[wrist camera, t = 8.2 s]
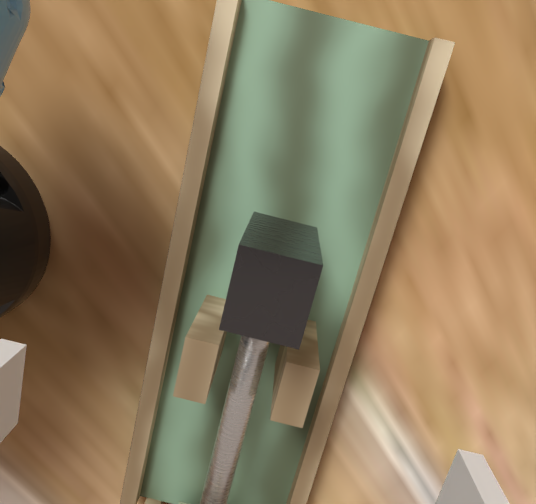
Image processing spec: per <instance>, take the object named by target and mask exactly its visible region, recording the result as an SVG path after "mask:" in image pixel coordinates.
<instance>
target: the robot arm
mask: <svg viewBox="0 0 536 504" xmlns="http://www.w3.org/2000/svg"><path fill="white" fill-rule="evenodd" d="M29 18H30V0H0V96H1V95H2V93H3V90H4V87H5V86H4V82H3V80H4V77H5V75H6V73H7V70H8V68H9V66H10V63H11V61H12V59H13V56H14V54H15V52H16V49H17V47H18V45H19V43H20V41H21V39H22V37H23V35H24V32H25V30H26V28H27V26H28V22H29ZM49 253H50V226H49V220H48V216H47V212H46V209H45V206H44V203H43V200H42V198H41V196H40V193H39V191H38V189H37V188H36V186H35V184H34V182H33V181H32V179H31V178H30V176H29V175H28V173H27V172H26V171H25V169H24V168H23V167H22V166H21V165H20V164H19V162H18V161H17V160H16V159H15V158H14V157H13V156H12V155H10V154H9V153H8V152H7V151H6V150H5V149H3V148H2V147H1V146H0V317H2V316H3V315H5V314H6V313H8V312H9V311H11V310H12V309H14V308H15V307H17V306H18V305H19V304H21V303H22V302H23V301H24V300H26V299H27V298H28V297H29V296H30V295H31V293H32V292H33V291H34V290H35V288H36V287H37V285H38V284H39V282H40V280H41V279H42V277H43V274H44V272H45V269H46V266H47V263H48V259H49ZM26 347H27V345H26V344H22V343H18V342H13V341H9V340H5V339H0V443H1V442H2V441H3V439H4V438H5V437H6V436H7V435H8V434H9V433H10V432H11V430H12V429H13V428H14V427H15V426H16V425H17V424H18V417H19V408H20V400H21V391H22V382H23V373H24V364H25V355H26ZM435 504H509V502H508V500H507V498H506V496H505V494H504V493H503V491H502V489H501V487H500V485H499V483H498V482H497V480H496V478H495V476H494V474H493V472H492V471H491V469H490V467H489V465H488V463H487V462H486V460H485V458H484V456H483V455H481V454H477V453H473V452H469V451H464V450H460V449H458V450H457V453H456V455H455V458H454V460H453V462H452V465H451V467H450V470H449V472H448V475H447V477H446V479H445V482H444V484H443V487H442V489H441V491H440V494H439V496H438V499H437V501H436V503H435Z"/></svg>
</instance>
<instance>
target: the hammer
mask: <svg viewBox="0 0 536 504" xmlns="http://www.w3.org/2000/svg"><path fill="white" fill-rule="evenodd" d="M322 268H323V261H322V254H321V248H320V242H319V236H318V230H317V227H314V226H310V225H306V224H302V223H298V222H294V221H290V220H286V219H282V218H278V217H274V216H270V215H266V214H262V213H258V212H253V214H252V217H251V219H250V221H249V223H248V225H247V227H246V230H245V232H244V234H243V236H242V238H241V241H240V243H239V245H238V250H237V254H236V258H235V263H234V267H233V271H232V275H231V280H230V284H229V288H228V293H227V297H226V301H225V305H224V310H223V314H222V318H221V323H220V327H219V330H222V331H226V332H230V333H234V334H238V335H241V339H240V343H239V347H238V351H237V355H236V359H235V363H234V367H233V371H232V375H231V379H230V383H229V387H228V391H227V395H226V399H225V403H224V407H223V411H222V416H221V420H220V424H219V428H218V432H217V436H216V440H215V444H214V448H213V452H212V456H211V460H210V464H209V468H208V472H207V476H206V480H205V484H204V488H203V492H202V496H201V500H200V504H227V501H228V497H229V493H230V489H231V486H232V482H233V478H234V474H235V471H236V467H237V463H238V459H239V456H240V452H241V448H242V444H243V441H244V437H245V433H246V430H247V426H248V422H249V418H250V415H251V411H252V407H253V403H254V400H255V396H256V392H257V388H258V385H259V381H260V377H261V373H262V370H263V366H264V362H265V358H266V355H267V351H268V347H269V343H274V344H278V345H282V346H286V347H290V348H294V349H298V350H299V348H300V345H301V342H302V338H303V335H304V331H305V328H306V324H307V321H308V317H309V314H310V310H311V307H312V303H313V300H314V296H315V293H316V289H317V286H318V282H319V279H320V275H321V272H322ZM179 504H189V503H185V502H181V501H179Z"/></svg>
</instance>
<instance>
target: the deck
mask: <svg viewBox="0 0 536 504" xmlns="http://www.w3.org/2000/svg"><path fill="white" fill-rule="evenodd" d="M454 44H455V42H451V41H447V40H443V39H439V38H433V39H431V40H430V41H427V40H423V39H420V38H416V37H412V36H408V35H404V34H400V33H396V32H392V31H388V30H384V29H380V28H376V27H372V26H368V25H364V24H360V23H356V22H352V21H349V20H345V19H341V18H337V17H333V16H329V15H325V14H321V13H317V12H313V11H309V10H305V9H301V8H297V7H293V6H289V5H285V4H282V3H278V2H274V1H270V0H217V2H216V7H215V13H214V18H213V23H212V28H211V33H210V38H209V44H208V49H207V54H206V59H205V64H204V70H203V75H202V80H201V85H200V90H199V96H198V101H197V106H196V111H195V116H194V121H193V127H192V132H191V137H190V142H189V147H188V153H187V158H186V163H185V168H184V173H183V178H182V184H181V189H180V194H179V199H178V204H177V210H176V215H175V220H174V225H173V230H172V236H171V241H170V246H169V251H168V256H167V261H166V267H165V272H164V277H163V282H162V287H161V293H160V298H159V303H158V308H157V313H156V318H155V324H154V329H153V334H152V339H151V344H150V350H149V355H148V360H147V365H146V370H145V376H144V381H143V386H142V391H141V396H140V401H139V407H138V412H137V417H136V422H135V427H134V433H133V438H132V443H131V448H130V453H129V458H128V464H127V469H126V474H125V479H124V484H123V490H122V495H121V500H120V504H137V501H138V499H139V496H143V497H147V499H146V501H145V504H163V502H167V503H171V504H179V501H181V502H185V503H189V504H200V500H201V496H202V492H203V488H204V484H205V480H206V476H207V472H208V468H209V464H210V460H211V456H212V452H213V448H214V444H215V440H216V436H217V432H218V428H219V424H220V420H221V416H222V411H223V407H224V403H225V399H226V395H227V391H228V387H229V383H230V379H231V375H232V371H233V367H234V363H235V359H236V355H237V351H238V347H239V343H240V339H241V335H238V334H234V333H230V332H226V331H222V330H219V327H220V323H221V318H222V314H223V310H224V305H225V301H226V297H227V293H228V288H229V284H230V280H231V275H232V271H233V267H234V263H235V258H236V254H237V250H238V245H239V243H240V241H241V238H242V236H243V234H244V232H245V230H246V227H247V225H248V223H249V221H250V219H251V217H252V214H253V212H258V213H262V214H266V215H270V216H274V217H278V218H282V219H286V220H290V221H294V222H298V223H302V224H306V225H310V226H314V227H317V230H318V236H319V242H320V248H321V254H322V261H323V268H322V272H321V275H320V279H319V282H318V286H317V289H316V293H315V296H314V300H313V303H312V307H311V310H310V314H309V317H308V321H307V324H306V328H305V331H304V335H303V338H302V342H301V345H300V348H299V350H298V349H294V348H290V347H286V346H282V345H278V344H274V343H269V347H268V351H267V355H266V358H265V362H264V366H263V370H262V373H261V377H260V381H259V385H258V388H257V392H256V396H255V400H254V403H253V407H252V411H251V415H250V418H249V422H248V426H247V430H246V433H245V437H244V441H243V444H242V448H241V452H240V456H239V459H238V463H237V467H236V471H235V474H234V478H233V482H232V486H231V489H230V493H229V497H228V501H227V504H306V503H307V500H308V497H309V494H310V491H311V487H312V484H313V481H314V478H315V475H316V472H317V469H318V466H319V463H320V460H321V456H322V453H323V450H324V447H325V444H326V441H327V438H328V435H329V432H330V429H331V426H332V422H333V419H334V416H335V413H336V410H337V407H338V404H339V401H340V398H341V395H342V391H343V388H344V385H345V382H346V379H347V376H348V373H349V370H350V367H351V364H352V360H353V357H354V354H355V351H356V348H357V345H358V342H359V339H360V336H361V333H362V329H363V326H364V323H365V320H366V317H367V314H368V311H369V308H370V305H371V302H372V298H373V295H374V292H375V289H376V286H377V283H378V280H379V277H380V274H381V271H382V267H383V264H384V261H385V258H386V255H387V252H388V249H389V246H390V243H391V240H392V236H393V233H394V230H395V227H396V224H397V221H398V218H399V215H400V212H401V209H402V205H403V202H404V199H405V196H406V193H407V190H408V187H409V184H410V181H411V178H412V174H413V171H414V168H415V165H416V162H417V159H418V156H419V153H420V150H421V147H422V143H423V140H424V137H425V134H426V131H427V128H428V125H429V122H430V119H431V116H432V113H433V109H434V106H435V103H436V100H437V97H438V94H439V91H440V88H441V85H442V82H443V78H444V75H445V72H446V69H447V66H448V63H449V60H450V57H451V54H452V51H453V47H454Z"/></svg>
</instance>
